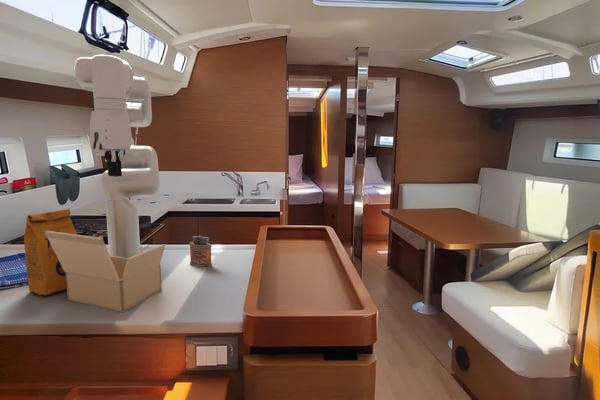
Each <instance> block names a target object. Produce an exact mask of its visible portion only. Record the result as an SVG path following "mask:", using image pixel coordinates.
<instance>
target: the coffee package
mask: <svg viewBox="0 0 600 400" xmlns="http://www.w3.org/2000/svg"><path fill="white" fill-rule="evenodd" d="M70 215H71V209H70V208H66V209H61V210H60V209H59V210H55V211H54V210H53V211H47V212H40V213H33V214H32V213H31V214H28V215H27V216H26V220H25V226H26V227H25V231H24V235H23V236H24V237H23V239H24V240H23V242H24V245H23V246H24V254H25V266H26V267H25V268H26V276H27V281H28V282H27V284H28V292H30V293H35V294H36V295H39V296H48V295H51V294H55V293H58V292H61V291H65V290H66V291H67V286H66V275H65V272H64V270H63V268H62V266H61V264H60V262H59V260H58V258H57V256H56V254H55V252H54V250H53V248H52V246H51V244H50V242H49V240H48V237H47V236H46V234H45V231H54V232H62V233H69V234H76V235H78V233H77V230H76V229H75V227H74V224H73V221H72V218H70Z"/></svg>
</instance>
